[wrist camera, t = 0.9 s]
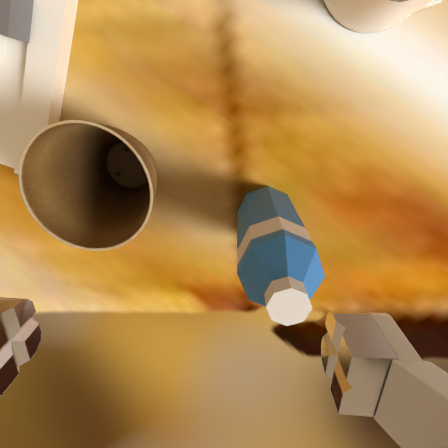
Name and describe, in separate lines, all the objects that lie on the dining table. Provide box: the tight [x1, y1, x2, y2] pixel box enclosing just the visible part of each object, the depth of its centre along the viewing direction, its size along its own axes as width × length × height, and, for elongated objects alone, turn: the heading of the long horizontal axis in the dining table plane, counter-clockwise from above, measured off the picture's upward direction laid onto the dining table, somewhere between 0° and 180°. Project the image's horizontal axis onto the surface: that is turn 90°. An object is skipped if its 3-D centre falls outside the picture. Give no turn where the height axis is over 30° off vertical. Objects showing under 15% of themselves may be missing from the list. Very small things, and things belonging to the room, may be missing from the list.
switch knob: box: [0, 0, 34, 43], centre depth 37 cm, size 5×5×6 cm
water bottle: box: [237, 186, 325, 326], centre depth 39 cm, size 9×9×25 cm
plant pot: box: [18, 120, 157, 251], centre depth 41 cm, size 15×15×16 cm
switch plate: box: [0, 0, 78, 174], centre depth 43 cm, size 28×12×3 cm, turn 160°
